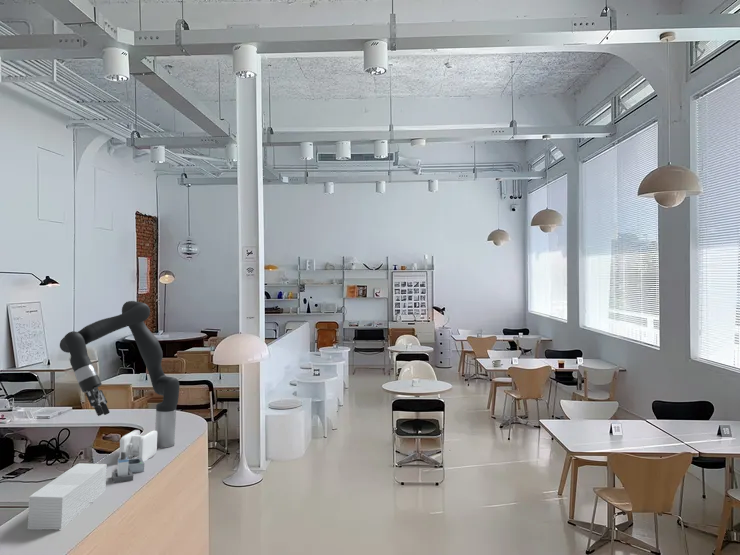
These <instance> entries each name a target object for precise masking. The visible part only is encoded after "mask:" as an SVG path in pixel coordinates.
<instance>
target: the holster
mask: <svg viewBox="0 0 740 555" xmlns="http://www.w3.org/2000/svg"><path fill="white" fill-rule="evenodd" d="M133 474H134V473H132V472H131V470H128V475H127V476H120V477H117V471H112V472H111V479H112V482H113V483H114V484H117V483H124V482H132V481H134V475H133Z"/></svg>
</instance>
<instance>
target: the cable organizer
mask: <svg viewBox="0 0 740 555" xmlns="http://www.w3.org/2000/svg"><path fill="white" fill-rule="evenodd" d="M157 448H158V447H157V431H155V430H151V431H150V432H148V433H146V434H145V435H141V431H140V429H134V430H132V431H131V432H129V433H126V434H124V435H122V437H121V438H120V439H119V457H118V458H121V452H126V457H128V459H133V458H134V457H136V458H142V460H143V462H144V463H145V462H146V461H147V460H149V459H151V458H153V457H154V456H155V455H156V454H157ZM133 456H134V457H133Z"/></svg>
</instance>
